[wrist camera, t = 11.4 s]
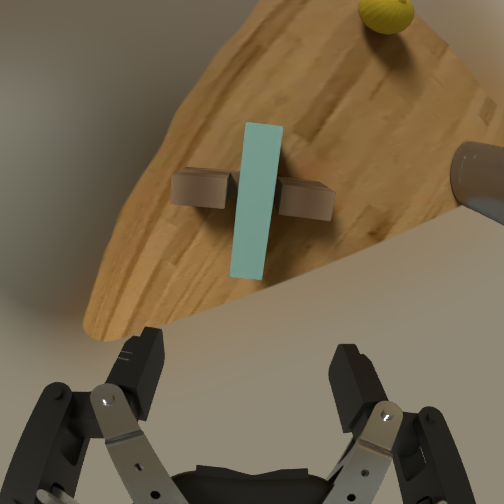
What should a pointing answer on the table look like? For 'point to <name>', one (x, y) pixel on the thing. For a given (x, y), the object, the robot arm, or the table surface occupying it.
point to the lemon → (386, 15)
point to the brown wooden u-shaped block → (226, 186)
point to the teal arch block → (255, 199)
